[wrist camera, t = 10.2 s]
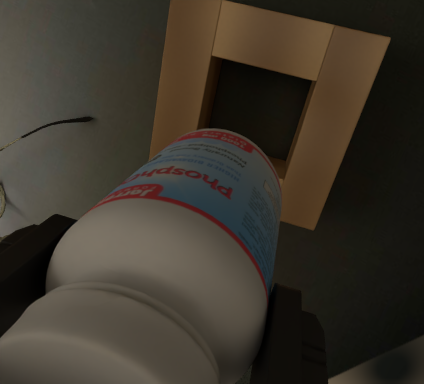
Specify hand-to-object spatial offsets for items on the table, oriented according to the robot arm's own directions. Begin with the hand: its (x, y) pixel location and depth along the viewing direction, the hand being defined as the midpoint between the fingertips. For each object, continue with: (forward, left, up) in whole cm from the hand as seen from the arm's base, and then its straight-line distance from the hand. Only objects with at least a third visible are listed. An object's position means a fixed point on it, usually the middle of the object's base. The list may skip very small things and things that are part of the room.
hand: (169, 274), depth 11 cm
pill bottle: (0, 0, -7) cm, 7 cm away
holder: (0, -1, -21) cm, 21 cm away
